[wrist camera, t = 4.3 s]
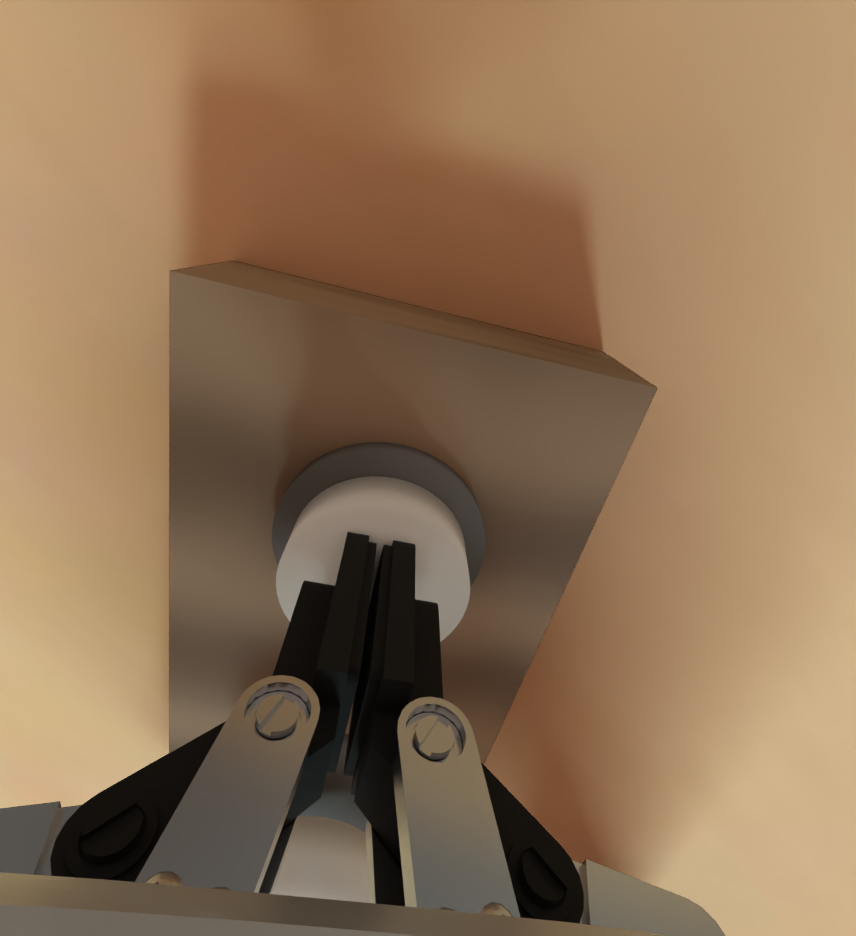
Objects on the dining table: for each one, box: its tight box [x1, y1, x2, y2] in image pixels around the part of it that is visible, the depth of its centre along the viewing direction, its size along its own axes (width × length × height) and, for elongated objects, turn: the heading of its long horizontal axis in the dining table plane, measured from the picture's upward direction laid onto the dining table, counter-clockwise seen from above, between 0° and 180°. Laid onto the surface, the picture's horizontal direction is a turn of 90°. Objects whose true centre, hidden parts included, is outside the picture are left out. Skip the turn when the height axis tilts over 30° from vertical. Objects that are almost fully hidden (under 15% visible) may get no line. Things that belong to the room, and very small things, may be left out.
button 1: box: [276, 476, 470, 642], centre depth 13 cm, size 5×5×2 cm
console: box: [169, 261, 657, 833], centre depth 18 cm, size 24×12×5 cm, turn 167°
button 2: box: [273, 816, 369, 903], centre depth 16 cm, size 5×5×2 cm
